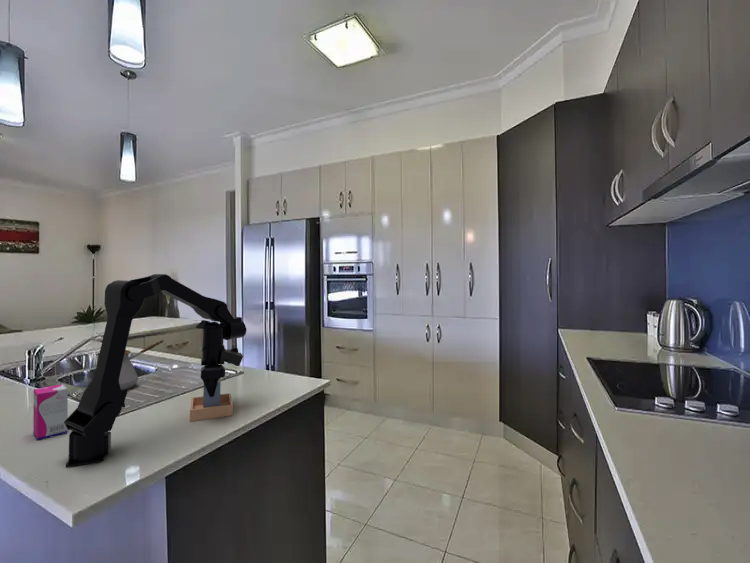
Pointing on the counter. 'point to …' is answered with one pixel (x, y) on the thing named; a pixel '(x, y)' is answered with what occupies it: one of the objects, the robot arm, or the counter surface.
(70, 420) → the robot arm
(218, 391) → the block
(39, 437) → the supplement box
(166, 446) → the counter surface
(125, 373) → the coffee pot
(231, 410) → the bin
